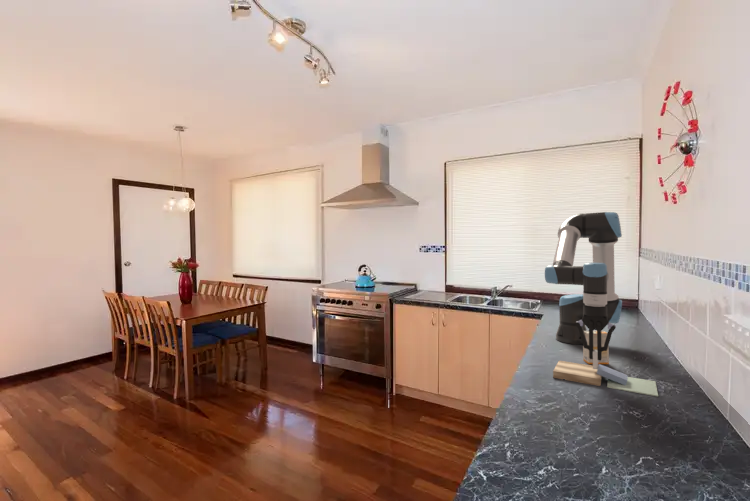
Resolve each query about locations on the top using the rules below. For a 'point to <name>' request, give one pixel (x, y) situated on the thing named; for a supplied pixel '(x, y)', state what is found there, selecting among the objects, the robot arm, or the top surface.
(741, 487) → the top surface
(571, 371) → the board
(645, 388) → the mat
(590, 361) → the supplement box
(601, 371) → the blue rectangular block
